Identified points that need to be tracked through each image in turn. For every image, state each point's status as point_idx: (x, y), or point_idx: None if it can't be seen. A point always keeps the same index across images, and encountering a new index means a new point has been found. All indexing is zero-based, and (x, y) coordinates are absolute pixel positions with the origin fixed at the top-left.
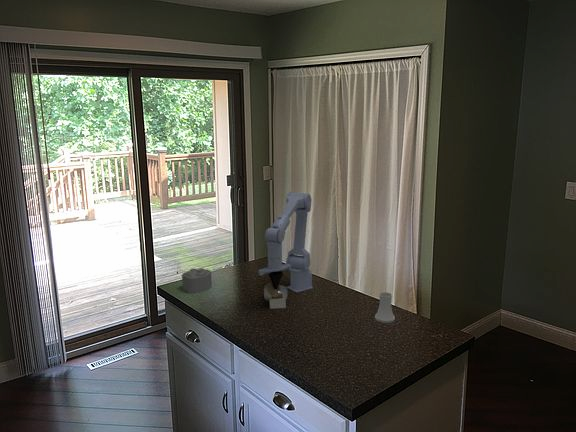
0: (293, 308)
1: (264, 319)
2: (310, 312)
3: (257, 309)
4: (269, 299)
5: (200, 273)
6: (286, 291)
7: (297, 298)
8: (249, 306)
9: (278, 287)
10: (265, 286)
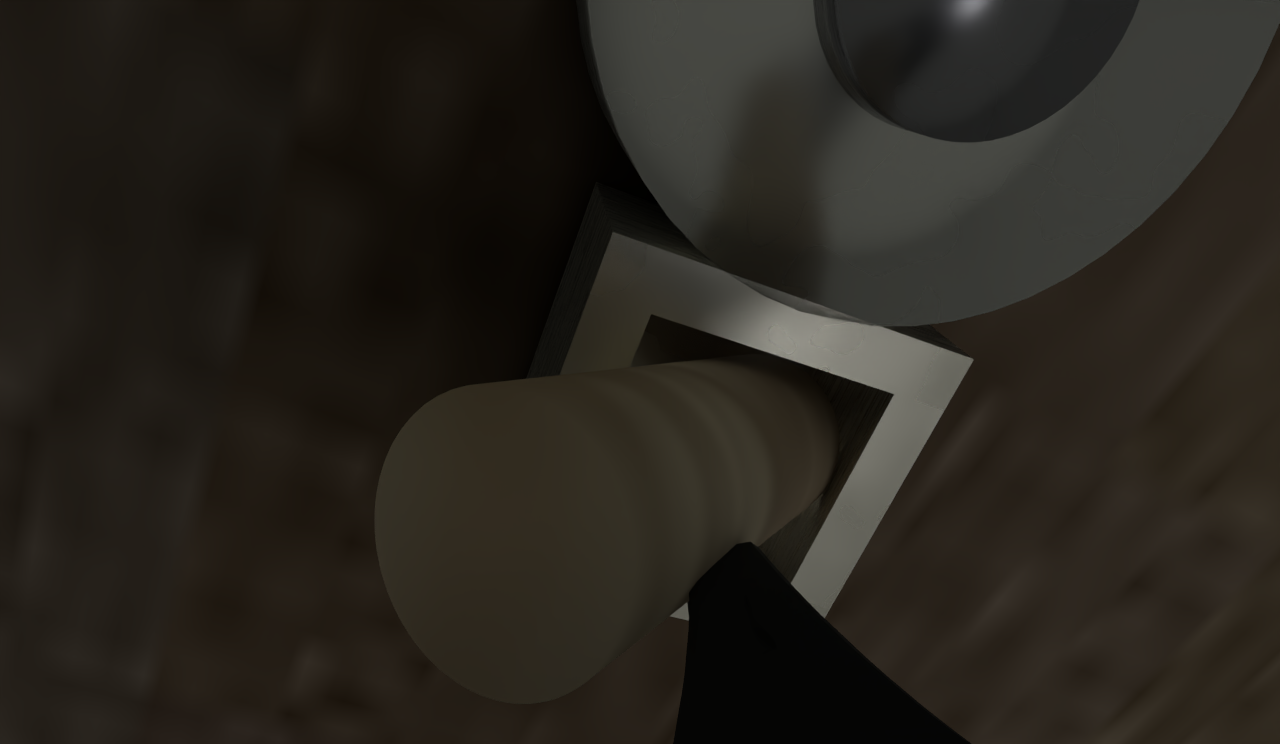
0: (862, 552)
1: (285, 720)
2: (971, 729)
3: (266, 354)
4: (550, 363)
5: None
6: (1101, 240)
7: (1193, 208)
8: (120, 134)
9: (1039, 73)
10: (434, 477)
